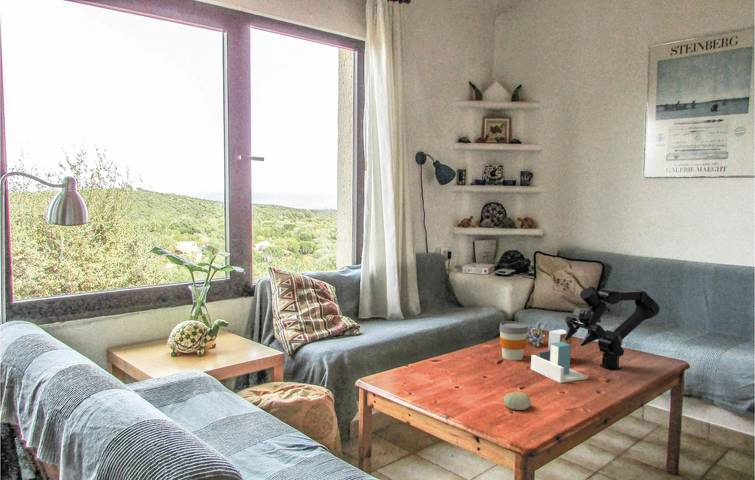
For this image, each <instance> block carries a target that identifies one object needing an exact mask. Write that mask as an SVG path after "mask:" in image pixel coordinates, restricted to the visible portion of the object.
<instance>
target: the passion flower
mask: <svg viewBox="0 0 755 480" xmlns="http://www.w3.org/2000/svg"><path fill="white" fill-rule="evenodd" d="M526 337H527V342H529V343H531V345H532V346H533V347H534V346H535V347H536V348H538V347H539V346H540V344H544V340H543V339H544V338H545V337H546V336H545V334H543V332H542V328H539V327H537V325H535V326H534V325H532V324H530V323H529V324H528V333H527V336H526Z"/></svg>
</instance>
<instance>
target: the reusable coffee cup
mask: <svg viewBox="0 0 755 480" xmlns="http://www.w3.org/2000/svg"><path fill="white" fill-rule="evenodd" d="M528 328H529V324H526V323H525V322H519V321H502V322H500V324H499V334H500V335H499V345H500V347H501V357H502V358H503V359H505V360H508V361H522V360H523V357H524V352H525V349H526V346H527V342H528V341H527V340H528V339H527V337H526V336H527V333H528Z"/></svg>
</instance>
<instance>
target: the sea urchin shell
mask: <svg viewBox="0 0 755 480" xmlns="http://www.w3.org/2000/svg"><path fill="white" fill-rule="evenodd" d="M503 404H504V405H505V406H506V407H507V408H508V409H511V410H514V411H515V410H516V411H526V410H527V409H529V408H530V406H531V405H532V400H531V397H530V396H528V394H526V393H524V392H522V391H521V392H520V391H514V392H513V391H512V392H509V393H507V394H505V396H504V398H503Z"/></svg>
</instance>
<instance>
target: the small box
mask: <svg viewBox="0 0 755 480" xmlns="http://www.w3.org/2000/svg"><path fill="white" fill-rule="evenodd" d="M566 332H567V329H566V330H565V329H562V328H561V329H555V330H550V331H548V347H547V351H549V350H550V347H551V343H557V342H564V343H566V344H569V345H571V346H572V341H573V339H572V336H573V335H572V336H571V337H570V338H569V339H568V340H565V335H566ZM571 353H572V349H571V350H570V358H571Z"/></svg>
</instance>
